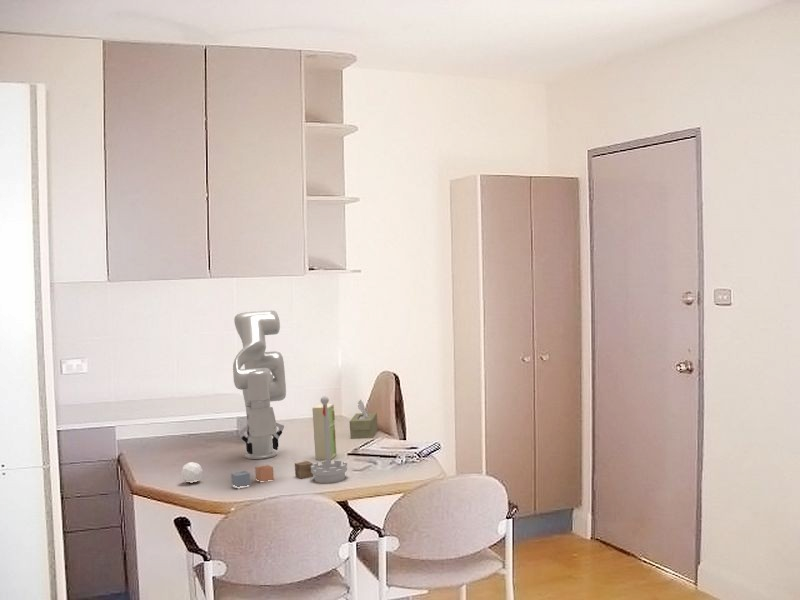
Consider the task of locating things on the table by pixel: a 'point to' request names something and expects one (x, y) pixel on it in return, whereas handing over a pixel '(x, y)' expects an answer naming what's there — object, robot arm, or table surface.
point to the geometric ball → (191, 471)
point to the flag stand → (328, 457)
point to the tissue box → (363, 424)
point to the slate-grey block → (241, 478)
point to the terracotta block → (264, 473)
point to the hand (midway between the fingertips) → (262, 451)
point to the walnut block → (303, 470)
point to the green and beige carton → (320, 432)
